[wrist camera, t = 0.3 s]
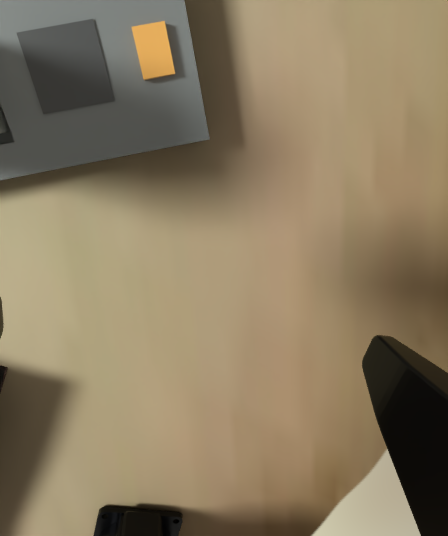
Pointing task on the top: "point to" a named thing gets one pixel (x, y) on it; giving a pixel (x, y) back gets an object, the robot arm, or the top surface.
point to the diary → (2, 375)
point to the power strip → (95, 82)
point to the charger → (3, 122)
